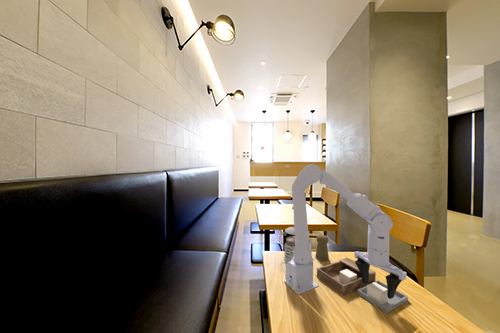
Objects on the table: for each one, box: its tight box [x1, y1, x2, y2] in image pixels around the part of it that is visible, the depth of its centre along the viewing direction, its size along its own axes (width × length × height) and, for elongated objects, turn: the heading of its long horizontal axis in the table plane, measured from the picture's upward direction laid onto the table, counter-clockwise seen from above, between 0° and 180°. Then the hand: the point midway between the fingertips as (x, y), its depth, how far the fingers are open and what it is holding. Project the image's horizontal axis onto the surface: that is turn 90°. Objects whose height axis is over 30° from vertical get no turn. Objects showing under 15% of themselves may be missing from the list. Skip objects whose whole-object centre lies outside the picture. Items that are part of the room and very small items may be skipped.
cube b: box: [340, 269, 357, 285], centre depth 66 cm, size 4×4×4 cm
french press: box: [278, 206, 295, 264], centre depth 83 cm, size 10×12×25 cm
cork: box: [314, 234, 330, 263], centre depth 85 cm, size 6×6×11 cm
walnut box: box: [316, 257, 377, 296], centre depth 69 cm, size 18×12×4 cm, turn 116°
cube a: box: [366, 281, 388, 305], centre depth 58 cm, size 4×4×4 cm
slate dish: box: [357, 280, 409, 314], centre depth 60 cm, size 12×9×2 cm
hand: (377, 289), depth 58 cm, fingers open, 7 cm apart
